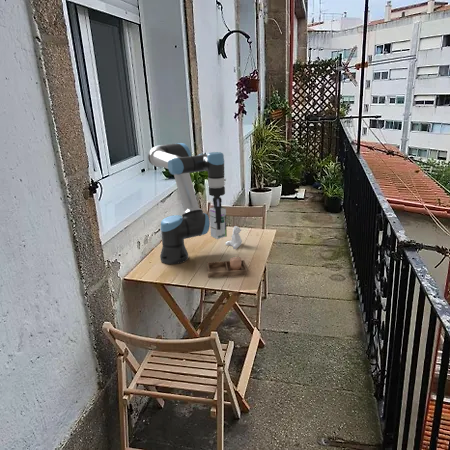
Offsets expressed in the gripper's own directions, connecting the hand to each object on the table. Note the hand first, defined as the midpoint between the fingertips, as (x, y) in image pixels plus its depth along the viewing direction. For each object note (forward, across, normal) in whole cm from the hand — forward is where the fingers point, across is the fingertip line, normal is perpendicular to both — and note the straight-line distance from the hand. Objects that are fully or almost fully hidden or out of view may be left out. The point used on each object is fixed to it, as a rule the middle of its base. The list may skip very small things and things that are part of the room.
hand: (218, 232), depth 182 cm
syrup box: (+2, 0, 0) cm, 2 cm away
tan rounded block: (+20, -1, -8) cm, 22 cm away
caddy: (+21, -1, -4) cm, 21 cm away
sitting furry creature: (+21, +34, -12) cm, 41 cm away
